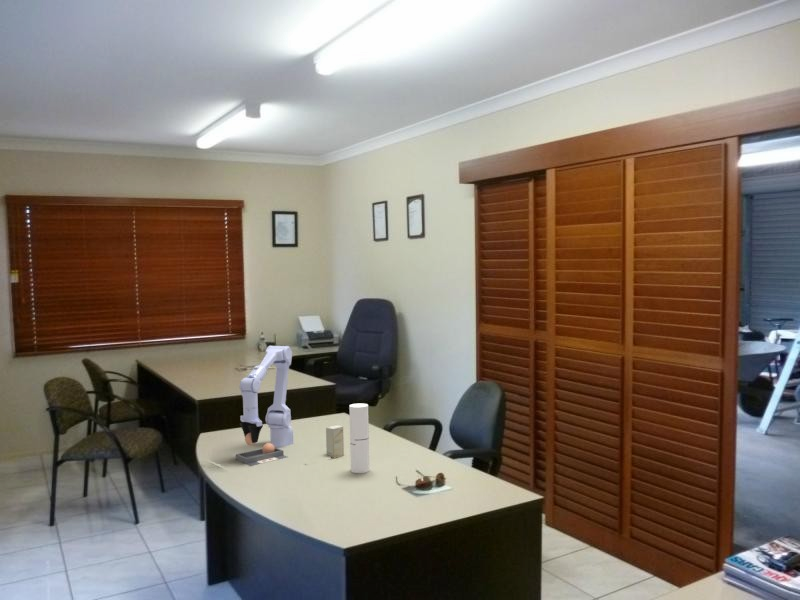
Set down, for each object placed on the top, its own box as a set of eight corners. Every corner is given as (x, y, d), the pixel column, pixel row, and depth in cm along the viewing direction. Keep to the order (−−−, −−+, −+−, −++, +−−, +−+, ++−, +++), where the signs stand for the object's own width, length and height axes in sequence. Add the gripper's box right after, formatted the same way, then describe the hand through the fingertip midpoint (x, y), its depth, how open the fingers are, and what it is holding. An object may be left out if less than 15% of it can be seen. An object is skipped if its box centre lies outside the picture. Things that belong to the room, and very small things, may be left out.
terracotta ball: (254, 442, 260) (253, 430, 260) (260, 444, 257) (259, 432, 256) (242, 444, 257) (242, 432, 257) (248, 447, 253) (248, 434, 253)
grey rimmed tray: (272, 452, 269) (272, 445, 269) (288, 459, 259) (288, 452, 259) (235, 461, 258) (234, 454, 258) (250, 468, 248) (250, 461, 248)
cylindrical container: (366, 473, 239) (365, 407, 238) (348, 472, 241) (347, 407, 240) (371, 467, 246) (370, 403, 245) (353, 466, 248) (352, 403, 247)
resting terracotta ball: (271, 452, 266) (270, 440, 265) (277, 455, 262) (276, 443, 262) (260, 455, 262) (259, 443, 262) (266, 457, 259) (265, 445, 258)
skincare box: (334, 458, 259) (333, 429, 258) (326, 457, 262) (325, 427, 261) (344, 455, 264) (343, 425, 263) (336, 453, 267) (335, 424, 266)
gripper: (233, 406, 259) (234, 439, 260) (250, 411, 248) (251, 446, 249) (248, 403, 264) (249, 436, 264) (266, 409, 253) (267, 442, 253)
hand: (251, 440), depth 257 cm, fingers closed on terracotta ball, 5 cm apart
